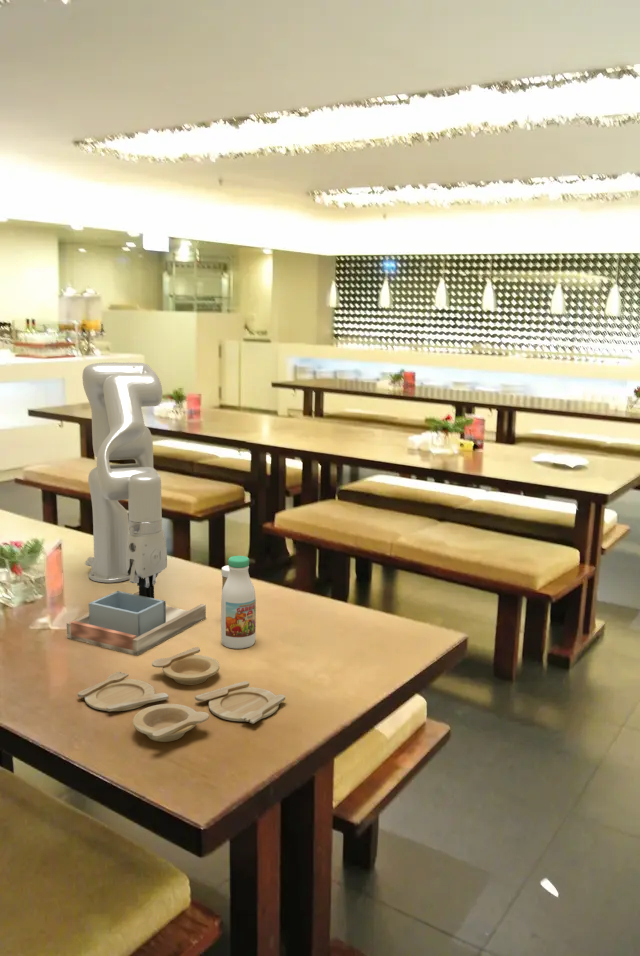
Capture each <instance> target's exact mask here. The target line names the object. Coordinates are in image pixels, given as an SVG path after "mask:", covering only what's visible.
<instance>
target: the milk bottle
mask: <svg viewBox="0 0 640 956" xmlns="http://www.w3.org/2000/svg"><path fill="white" fill-rule="evenodd" d="M227 563H228V565H229V567H228V568H229V575H228V578H227V580H226V582H225V584H224V587H223V590H222V589H221V602H220V603H221V605H220V606H221V613H220V616H221V617H220V628H221V629H220V632H221V633H220V637H221V639H220V641H221V644H222V645H223V646H224V647H226V648H230V649H238V650H239V649H246V648H249V647H252V646H253V645H254V644H255V642H256V634H257V633H256V627H257V626H256V623H257V622H256V620H257V618H256V616H257V615H256V614H257V612H256V611H257V610H256V609H257V607H256V605H257V604H256V601H257V600H256V591H255V590H256V589H255V587H254V583H253V582H252V580H251V577H250V574H249V573H250V572H249V568H250V566H249V565H250V558H249V557H248V556H245V555H233V556H230V557H229V558H228V560H227Z"/></svg>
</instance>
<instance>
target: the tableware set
mask: <svg viewBox="0 0 640 956" xmlns="http://www.w3.org/2000/svg"><path fill="white" fill-rule="evenodd" d="M200 652H201V648H200V647H198V646H196V647H192V648H189V649H187V650H184V651H182V652H180V653H177V654H175V655H172V656H170V657H162V658H156V659H155V660H153V661H152V662H151V666H152V667H154V668H159V669H160V668H161V669H162V673H163V675H165V676H166V677H168V678H170V679H173V680H174V681H175V682H176V683H178V684H181V685H185V686H194V685H195V686H196V685H198V684H202V683H204V682H206V681H207V680H208V679H209V677H212V676H214V675H215V674H217V673H218V672H219V670H220V663H219V661H218V660H217V659H215V658H213V657H210V656H207V655H203V654H201V655H200V654H198V653H200ZM127 677H129V674H128V673H125V672H121V671H119V670H118V671H116V672H114V673H111V674H109V675H108V676H107V679H105V680H103V681H101V682H98V683H96V684H94V685H92V686H88V687H87V688H85V689H83V690H80V691H78V692H77V697H78V698H84V701H85V703H86V705H88V706H89V707H91V708H93V709H95V710H100V711H106V712H121V711H122V712H124V711H131V710H135V709H138V708H140V707H143V706H145V705H147V704H151V703H155V702H159V701H165V700H169V694H168V693H166V692H158V693H156V690H155V687H154V686H153V685H152V684H150V683H148V682H146V681H144V680H140V679H133V678H127ZM194 700H195V701H197V702H201V703H202V702H205V701H208V707H209V710H210V711H209V712H211V713H212V714H213V715H214V716H216V717H218V718H220V719H223V720H227V721H232V722H249V723H250V724H255V723H257V722H258V721H260V720H262V719H265V718H268V717H270V716H271V715H273V714H274V713H276V712H277V711H278V709H279V707H280V704H281V703H283V702H284V701H285V700H286V695H285V694H282V693H281V694H277V695H276V694H275V693H273V692H272V691H270V690H267V689H264V688H259V687H253V686H252V687H250V681H248V680H244V681H241V682H236V683H233V684H231V685H227V686H224V687H221V688H218V689H214V690H210V691H207V692H204V693H200V694H197V695H195V696H194ZM209 712H205V711H196V710H195V709H194V708H192V707H190V706H188V705H183V704H179V703H161V704H156V705H151V706H148V707H146V708H143V709H141V710H139V711H138V712H137V713H136V714H135V715H134V717H132V724H133V727H134V728H135V729H136V730H137V731H138V732H140V733H141V734H144V735H146V736H147V738H148V739H150V740H152V741H154V742H159V743H161V742H162V743H163V742H164V743H166V742H167V743H168V742H173V741H174V742H175V741H176V740H179V739H181V738H183V736H184V735H185V734H186V733H187V732H188V731H190V730H193V728H195V727H196V726H197V724H202V723H205V722H206V721H208V720H209V718H210V714H209Z"/></svg>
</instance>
